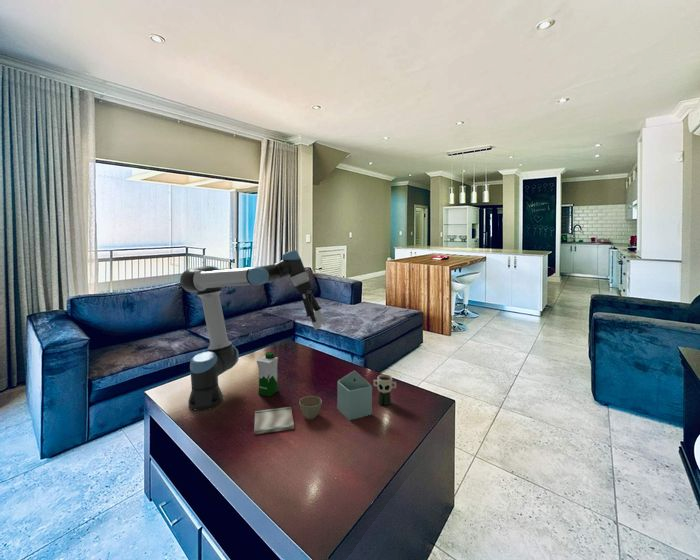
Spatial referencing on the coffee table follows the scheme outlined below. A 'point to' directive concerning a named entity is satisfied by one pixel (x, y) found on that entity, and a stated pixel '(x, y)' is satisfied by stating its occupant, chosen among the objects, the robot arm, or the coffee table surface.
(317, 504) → the coffee table surface
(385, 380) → the character mug
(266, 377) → the milk carton
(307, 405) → the flower pot
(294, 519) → the coffee table surface
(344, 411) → the planter
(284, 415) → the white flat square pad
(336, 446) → the coffee table surface
